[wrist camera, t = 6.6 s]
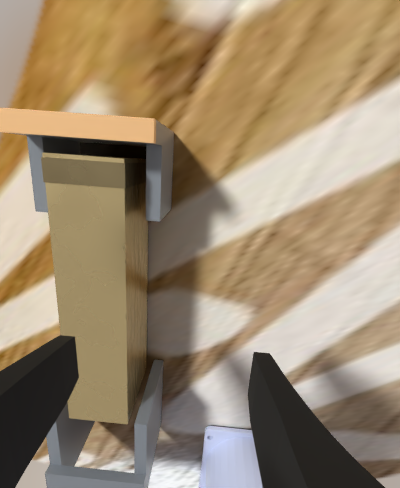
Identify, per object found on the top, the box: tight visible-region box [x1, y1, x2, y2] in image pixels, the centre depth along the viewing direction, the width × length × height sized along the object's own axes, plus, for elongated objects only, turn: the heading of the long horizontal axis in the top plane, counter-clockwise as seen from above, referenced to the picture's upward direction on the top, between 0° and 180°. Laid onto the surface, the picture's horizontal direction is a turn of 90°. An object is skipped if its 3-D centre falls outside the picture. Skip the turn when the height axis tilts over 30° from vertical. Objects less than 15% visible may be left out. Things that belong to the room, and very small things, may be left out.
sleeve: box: [45, 360, 163, 488], centre depth 21 cm, size 7×7×6 cm
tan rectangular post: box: [41, 153, 148, 424], centre depth 18 cm, size 17×4×5 cm, turn 176°
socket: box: [0, 108, 174, 222], centre depth 15 cm, size 5×7×6 cm
